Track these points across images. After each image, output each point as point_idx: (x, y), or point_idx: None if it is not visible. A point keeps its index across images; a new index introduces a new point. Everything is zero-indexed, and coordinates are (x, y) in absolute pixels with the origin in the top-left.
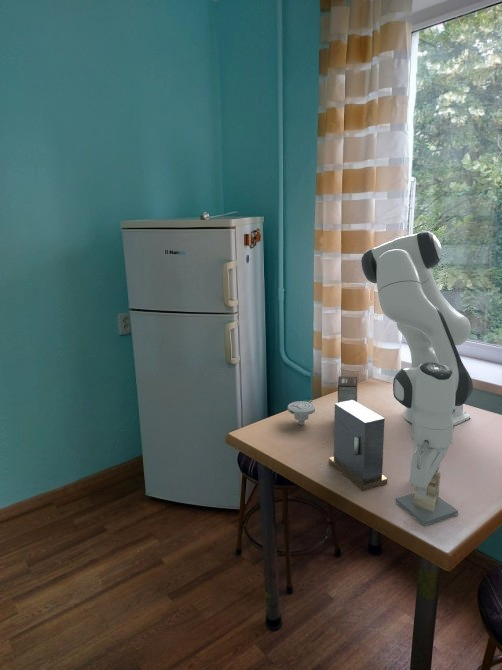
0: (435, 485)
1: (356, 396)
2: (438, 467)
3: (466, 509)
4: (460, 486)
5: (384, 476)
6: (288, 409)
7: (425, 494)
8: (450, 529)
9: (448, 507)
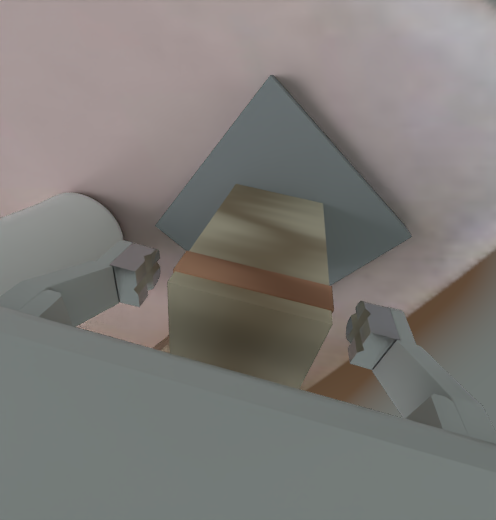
0: (331, 298)
1: None
2: (82, 276)
3: (207, 22)
4: (22, 71)
5: (169, 344)
6: None
7: (408, 328)
8: (425, 112)
9: (261, 132)
